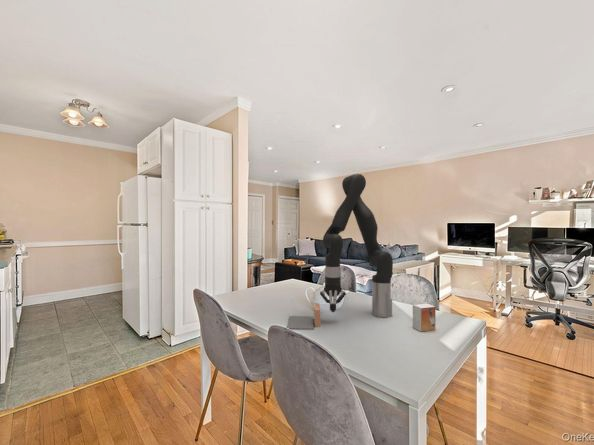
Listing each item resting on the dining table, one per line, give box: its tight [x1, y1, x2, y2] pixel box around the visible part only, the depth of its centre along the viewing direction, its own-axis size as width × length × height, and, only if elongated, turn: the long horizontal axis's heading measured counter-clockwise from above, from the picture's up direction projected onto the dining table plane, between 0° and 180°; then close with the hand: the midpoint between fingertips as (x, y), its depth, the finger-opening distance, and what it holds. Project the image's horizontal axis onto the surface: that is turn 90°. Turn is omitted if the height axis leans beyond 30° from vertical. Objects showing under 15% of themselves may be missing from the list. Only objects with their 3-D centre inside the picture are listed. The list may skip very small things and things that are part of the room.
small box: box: [412, 303, 436, 333], centre depth 120 cm, size 8×6×10 cm
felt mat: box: [286, 315, 315, 330], centre depth 128 cm, size 12×16×1 cm
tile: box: [313, 303, 321, 328], centre depth 128 cm, size 2×10×8 cm, turn 178°
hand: (332, 311), depth 128 cm, fingers closed
